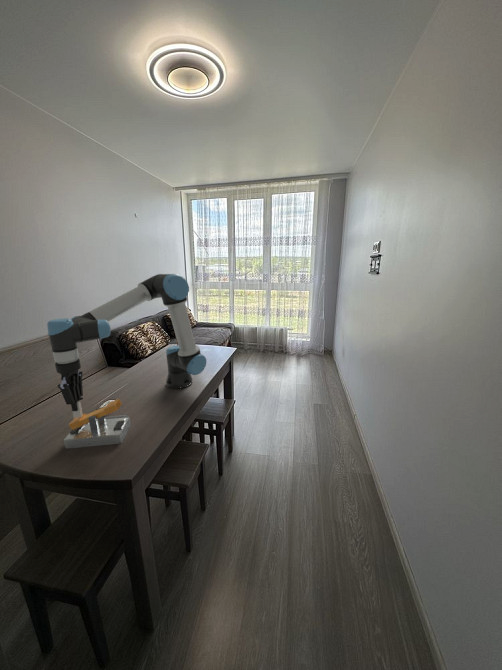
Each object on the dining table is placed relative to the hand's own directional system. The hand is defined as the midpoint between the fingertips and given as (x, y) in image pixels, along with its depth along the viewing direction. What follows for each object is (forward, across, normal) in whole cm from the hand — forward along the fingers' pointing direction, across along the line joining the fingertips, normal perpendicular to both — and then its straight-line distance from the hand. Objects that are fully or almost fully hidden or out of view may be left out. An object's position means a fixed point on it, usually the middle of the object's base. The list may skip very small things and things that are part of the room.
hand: (78, 416), depth 100 cm
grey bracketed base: (+10, 0, +7) cm, 12 cm away
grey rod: (+10, -11, +7) cm, 16 cm away
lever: (0, 0, +7) cm, 7 cm away
